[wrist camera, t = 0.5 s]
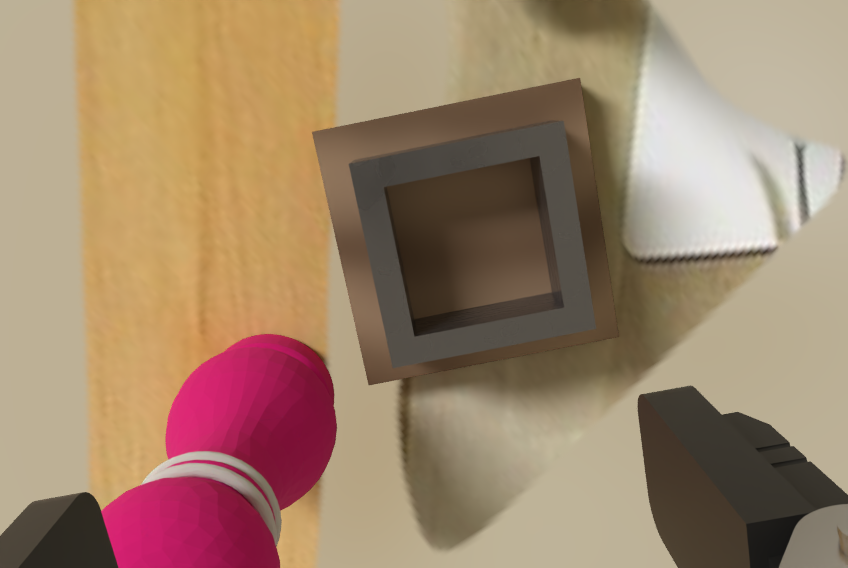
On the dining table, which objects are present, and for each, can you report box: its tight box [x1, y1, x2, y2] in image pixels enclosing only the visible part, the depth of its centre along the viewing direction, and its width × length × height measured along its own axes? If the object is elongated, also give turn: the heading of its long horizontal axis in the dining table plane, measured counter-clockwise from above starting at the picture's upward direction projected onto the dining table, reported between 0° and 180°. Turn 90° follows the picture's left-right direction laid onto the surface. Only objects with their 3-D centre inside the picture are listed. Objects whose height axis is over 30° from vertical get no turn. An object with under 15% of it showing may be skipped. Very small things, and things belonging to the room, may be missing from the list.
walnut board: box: [312, 78, 619, 385], centre depth 36 cm, size 12×12×2 cm
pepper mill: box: [101, 334, 337, 568], centre depth 29 cm, size 7×7×20 cm
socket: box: [349, 120, 596, 368], centre depth 34 cm, size 9×9×3 cm
